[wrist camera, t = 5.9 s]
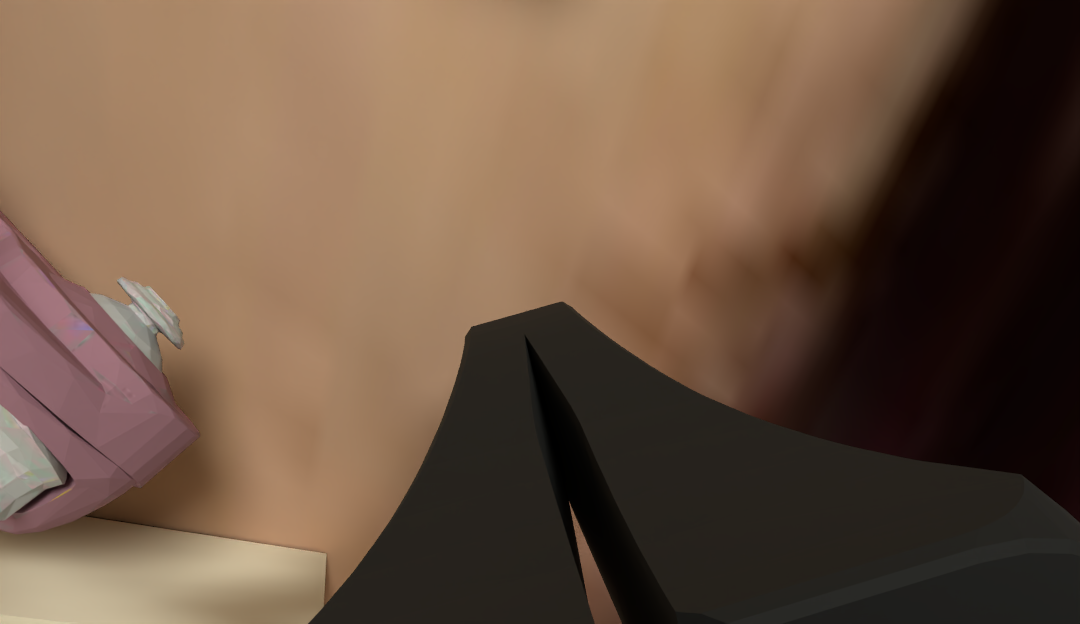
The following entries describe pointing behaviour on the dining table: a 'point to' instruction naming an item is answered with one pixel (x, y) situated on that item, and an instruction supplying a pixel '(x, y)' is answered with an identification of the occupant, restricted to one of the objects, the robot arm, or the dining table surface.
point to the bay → (153, 577)
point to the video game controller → (78, 392)
